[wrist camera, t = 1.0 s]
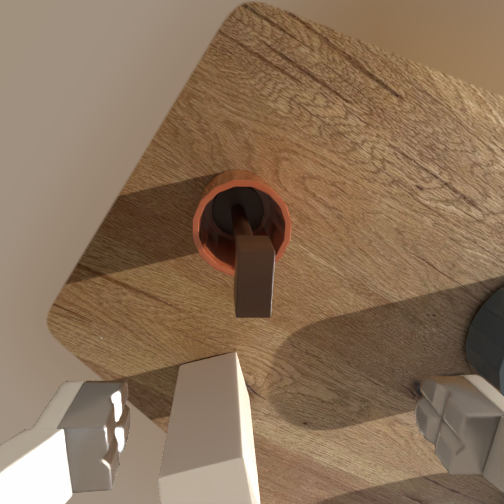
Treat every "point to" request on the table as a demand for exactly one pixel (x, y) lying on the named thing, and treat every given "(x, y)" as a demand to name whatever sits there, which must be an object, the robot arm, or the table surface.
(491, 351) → the bowl
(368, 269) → the table surface
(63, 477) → the robot arm
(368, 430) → the table surface
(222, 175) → the crock
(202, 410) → the milk carton
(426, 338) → the table surface
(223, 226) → the brown wooden masher
